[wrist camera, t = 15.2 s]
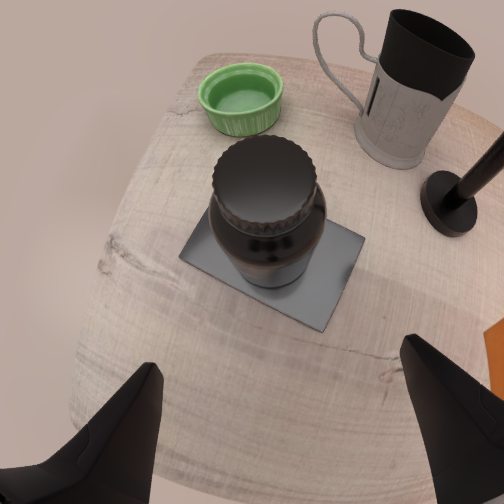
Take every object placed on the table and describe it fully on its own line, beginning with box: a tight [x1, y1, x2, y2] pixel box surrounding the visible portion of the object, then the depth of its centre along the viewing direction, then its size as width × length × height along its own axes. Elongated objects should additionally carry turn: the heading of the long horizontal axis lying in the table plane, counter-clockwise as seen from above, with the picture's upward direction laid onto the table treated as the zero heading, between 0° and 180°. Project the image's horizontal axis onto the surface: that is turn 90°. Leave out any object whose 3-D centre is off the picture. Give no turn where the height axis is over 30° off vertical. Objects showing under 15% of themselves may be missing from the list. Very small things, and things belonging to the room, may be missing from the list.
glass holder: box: [313, 9, 475, 169], centre depth 19 cm, size 9×14×15 cm, turn 70°
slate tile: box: [179, 206, 365, 333], centre depth 24 cm, size 9×14×1 cm, turn 62°
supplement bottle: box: [209, 135, 327, 287], centre depth 18 cm, size 7×7×12 cm
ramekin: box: [198, 63, 283, 137], centre depth 27 cm, size 9×9×4 cm
